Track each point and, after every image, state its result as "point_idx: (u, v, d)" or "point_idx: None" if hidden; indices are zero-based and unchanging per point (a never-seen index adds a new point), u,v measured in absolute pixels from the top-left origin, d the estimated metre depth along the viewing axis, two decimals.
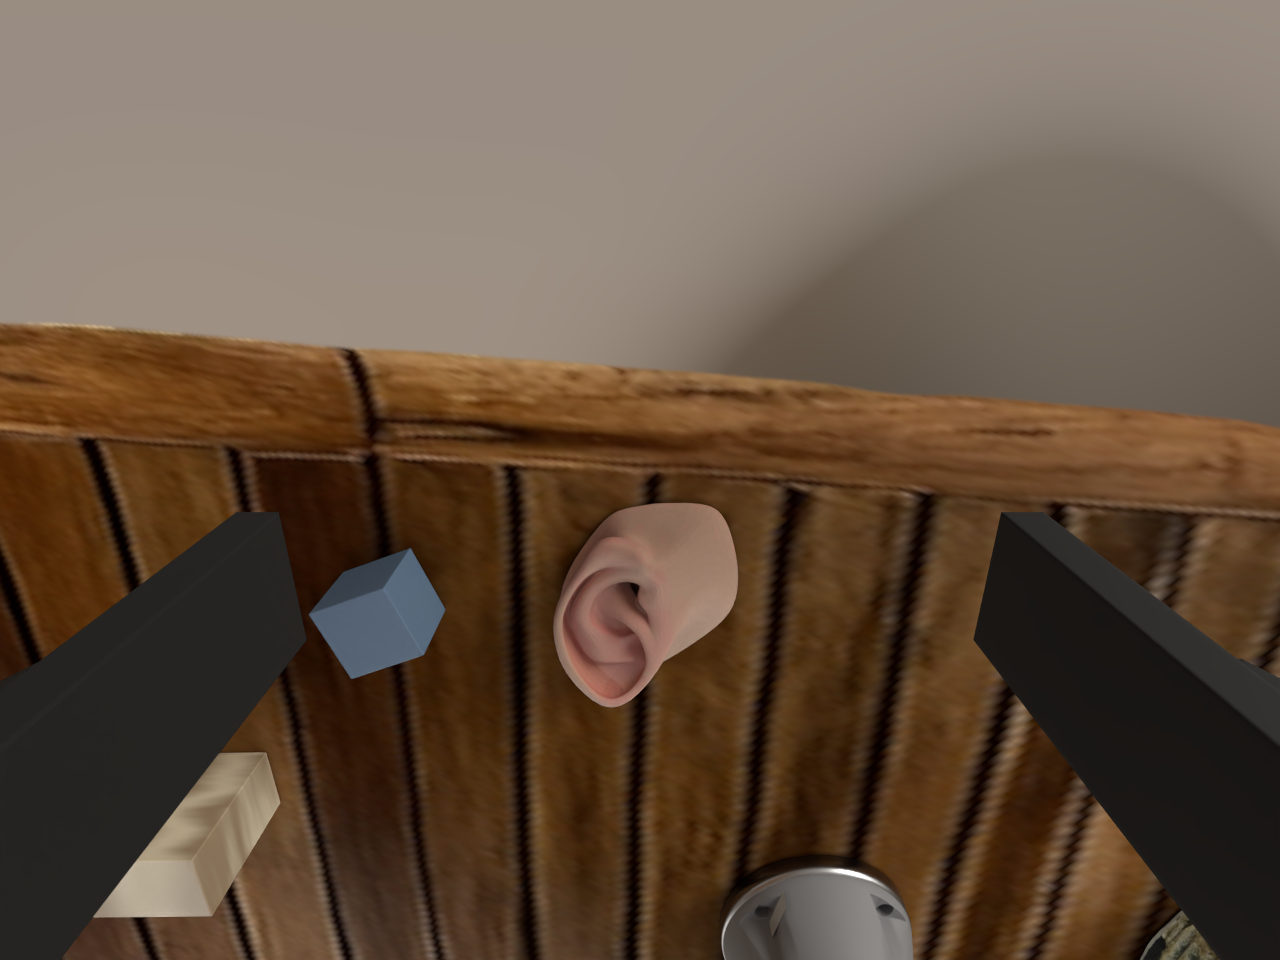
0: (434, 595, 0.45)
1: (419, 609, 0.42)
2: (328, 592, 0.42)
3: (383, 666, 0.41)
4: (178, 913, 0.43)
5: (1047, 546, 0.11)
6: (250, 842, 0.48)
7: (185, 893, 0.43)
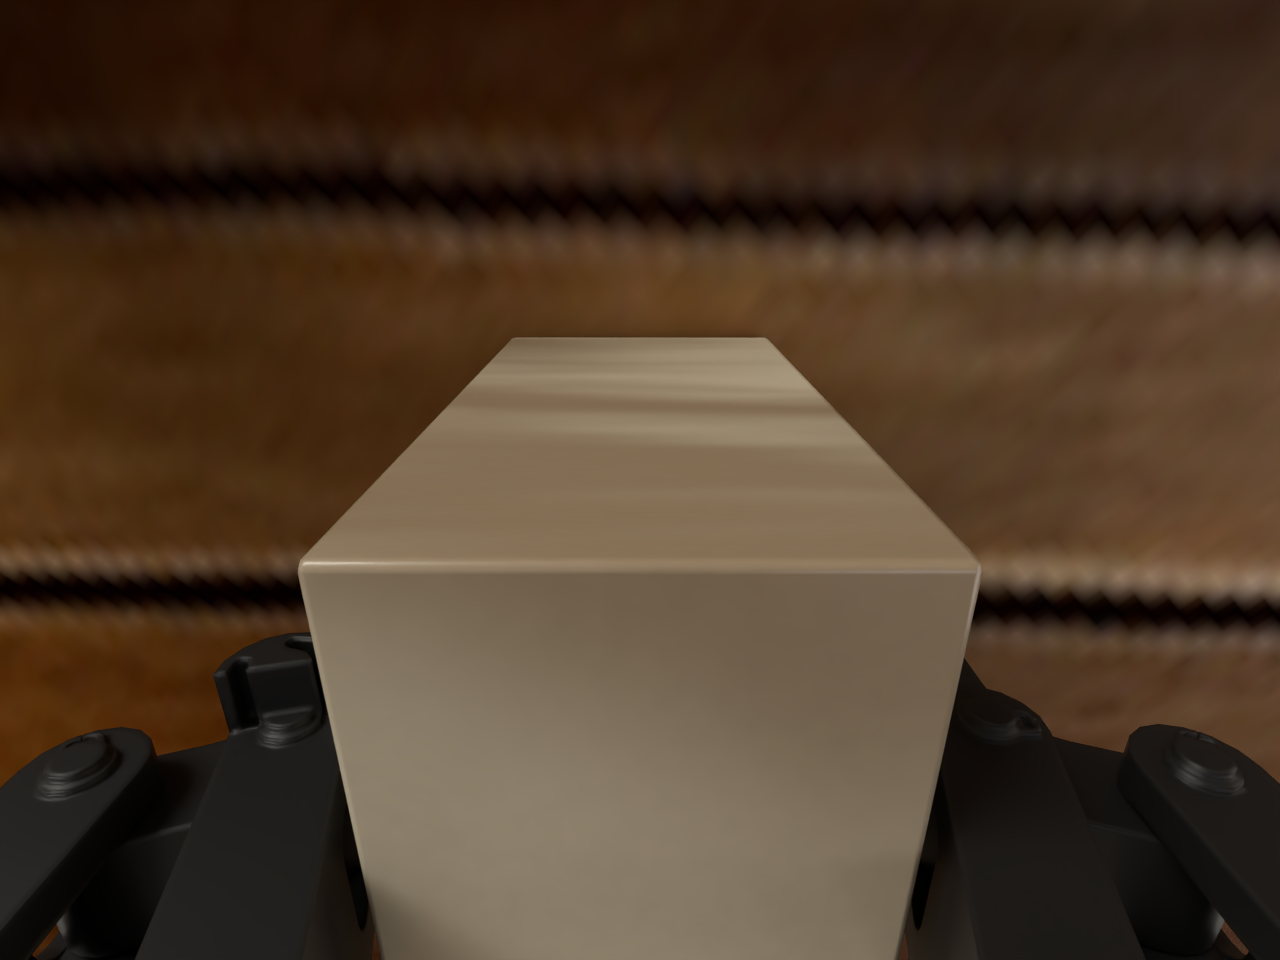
0: None
1: None
2: None
3: None
4: (898, 784, 0.06)
5: None
6: (769, 389, 0.09)
7: (688, 693, 0.05)
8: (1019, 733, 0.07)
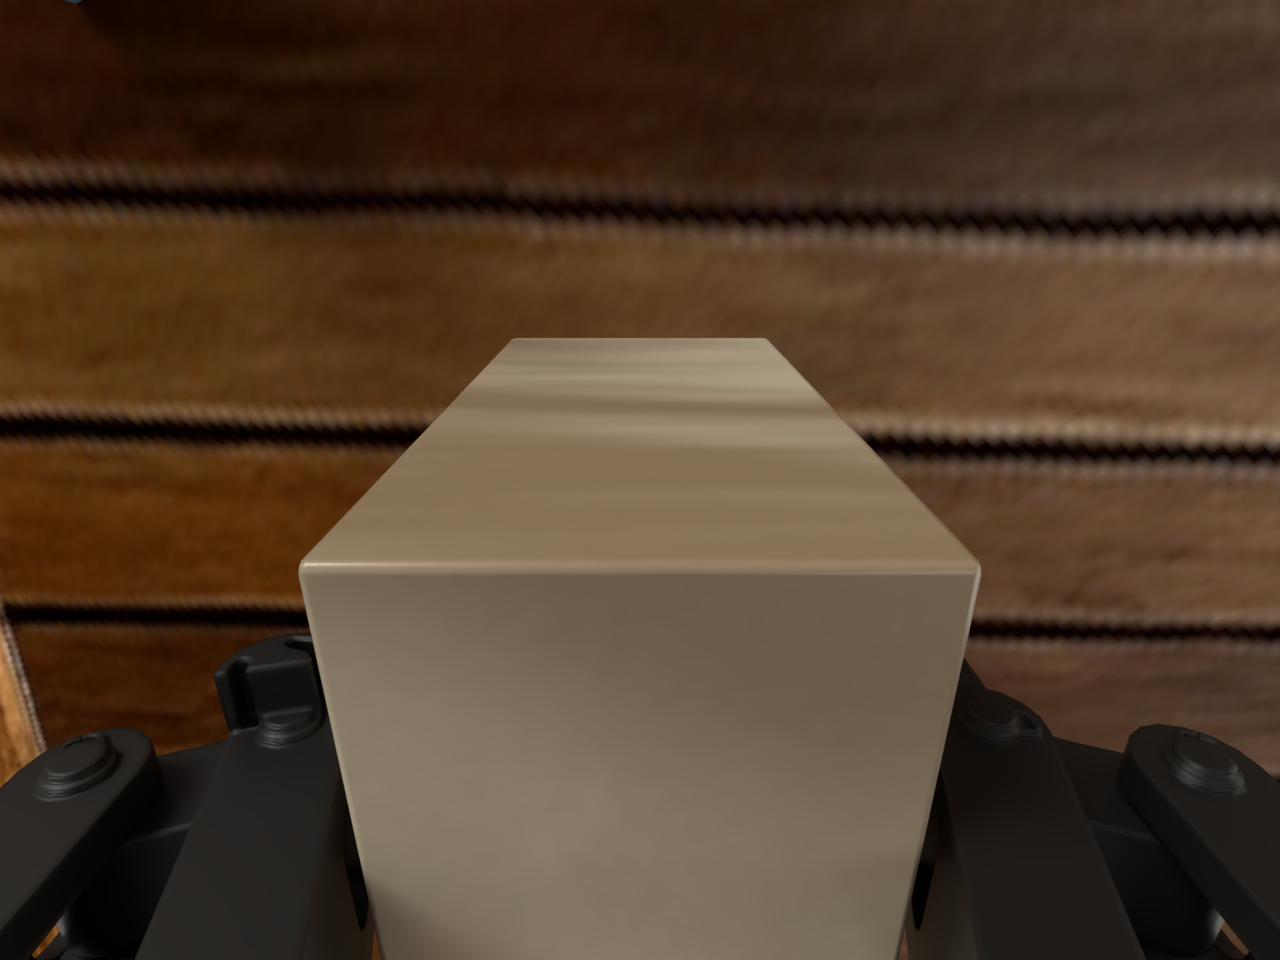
0: None
1: None
2: None
3: None
4: (898, 785, 0.06)
5: None
6: (769, 390, 0.09)
7: (688, 694, 0.05)
8: (1020, 733, 0.07)
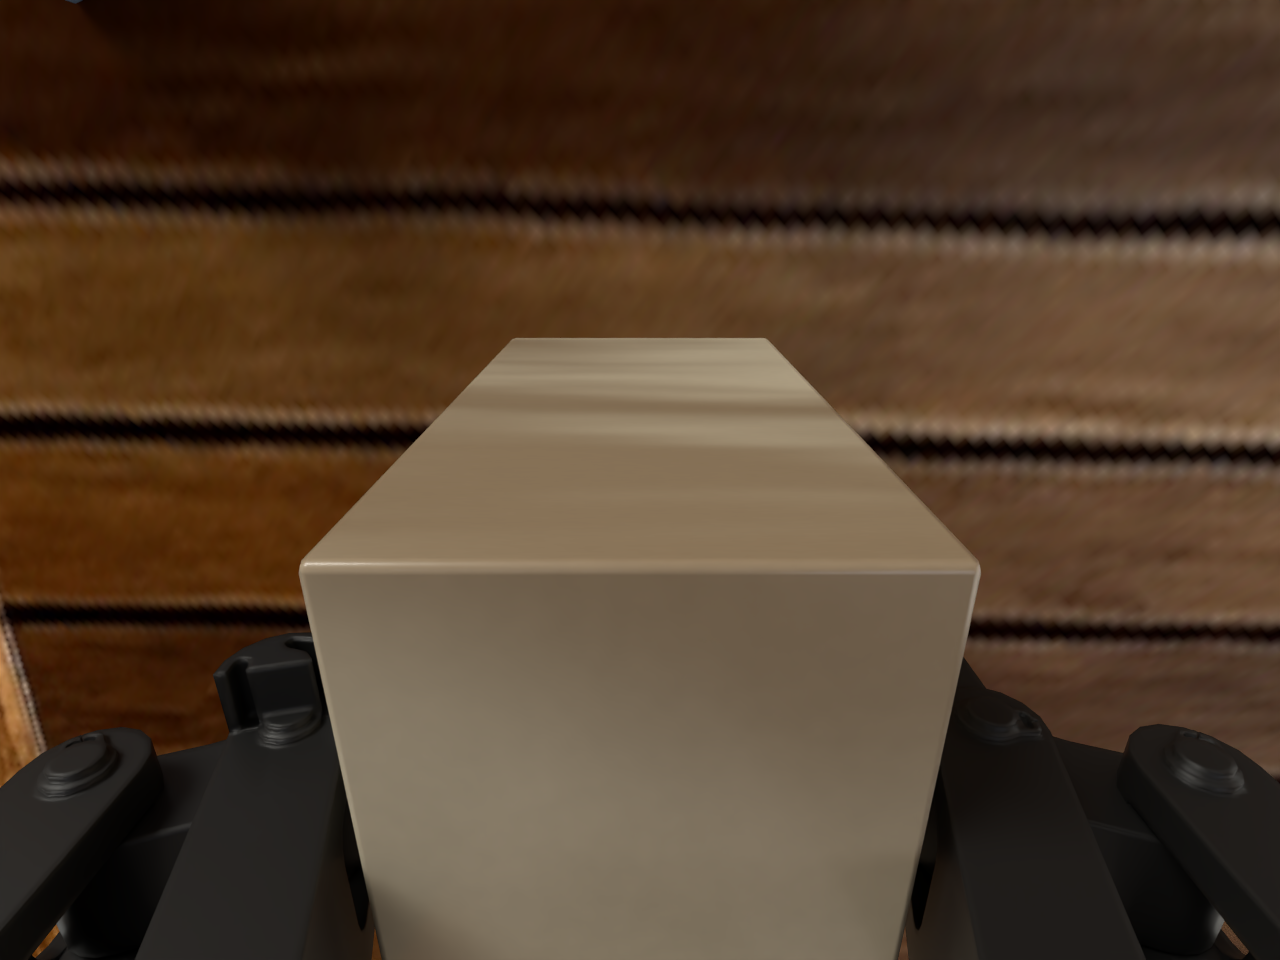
0: None
1: None
2: None
3: None
4: (898, 785, 0.06)
5: None
6: (769, 390, 0.09)
7: (687, 694, 0.05)
8: (1019, 733, 0.07)
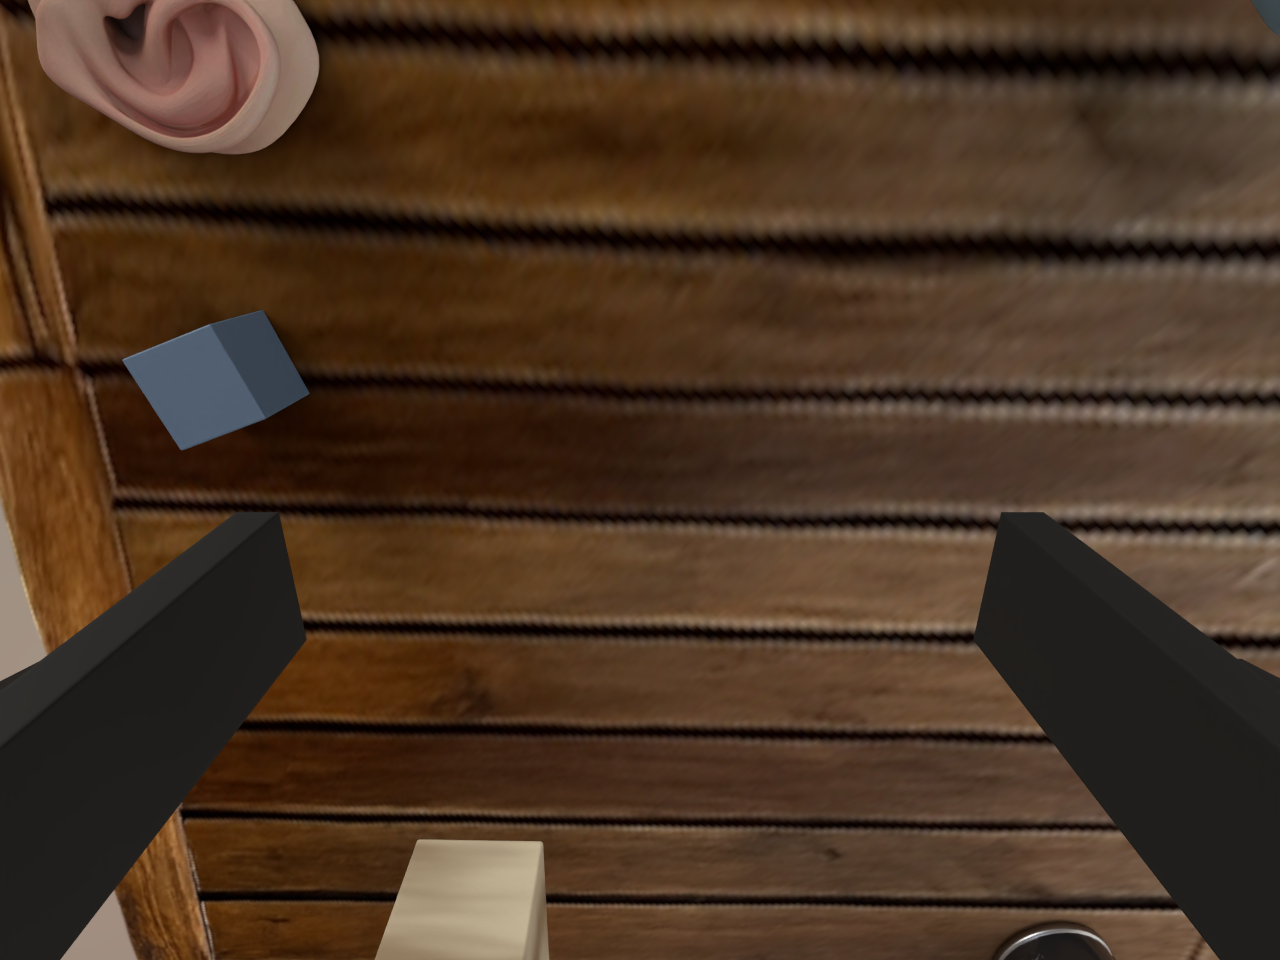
0: None
1: None
2: None
3: (237, 377, 0.33)
4: None
5: (1047, 546, 0.11)
6: (505, 944, 0.23)
7: None
8: None
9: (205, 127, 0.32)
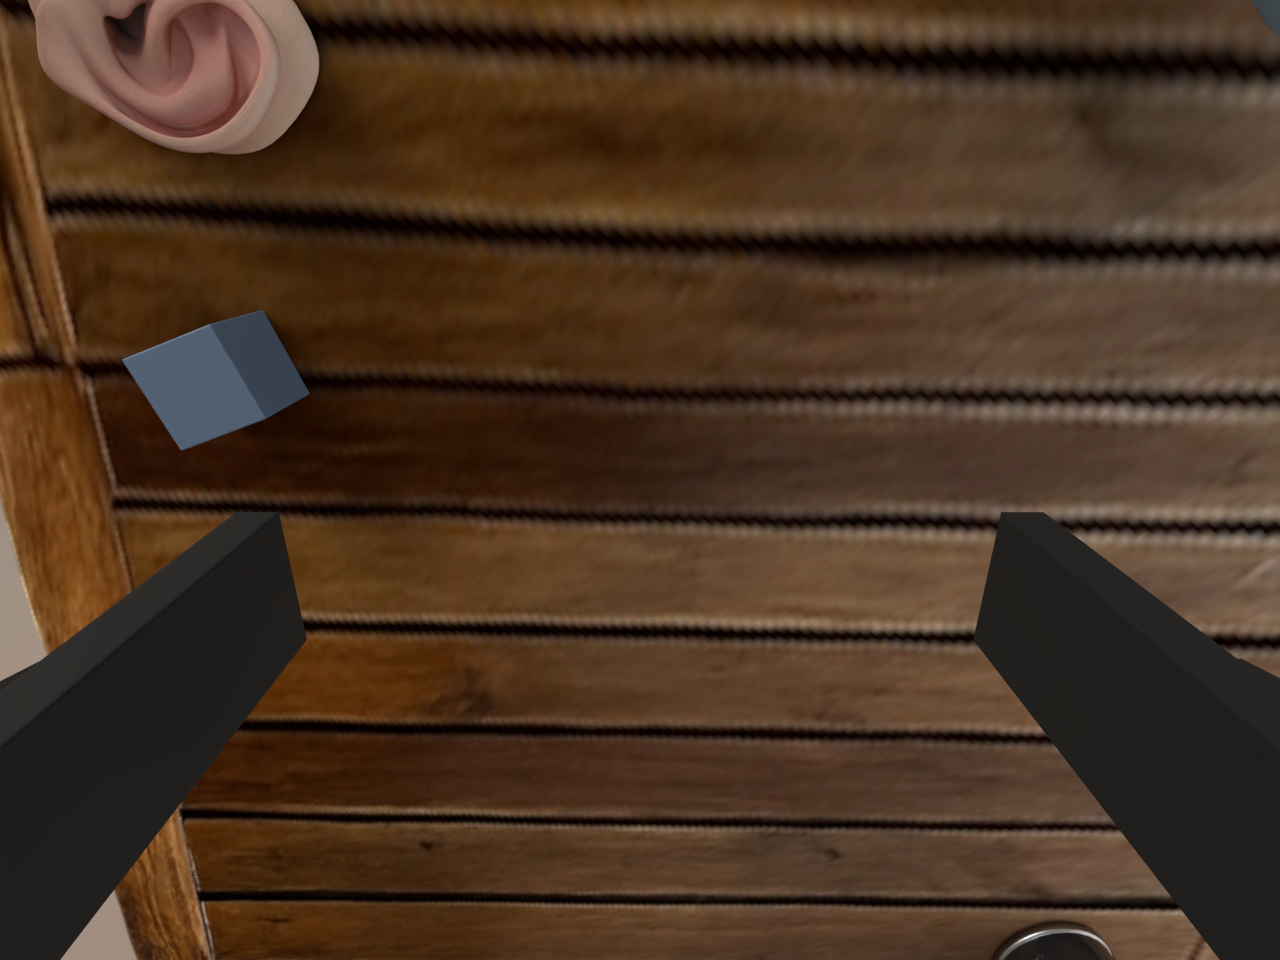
0: None
1: None
2: None
3: (237, 377, 0.33)
4: None
5: (1047, 546, 0.11)
6: None
7: None
8: None
9: (205, 127, 0.32)
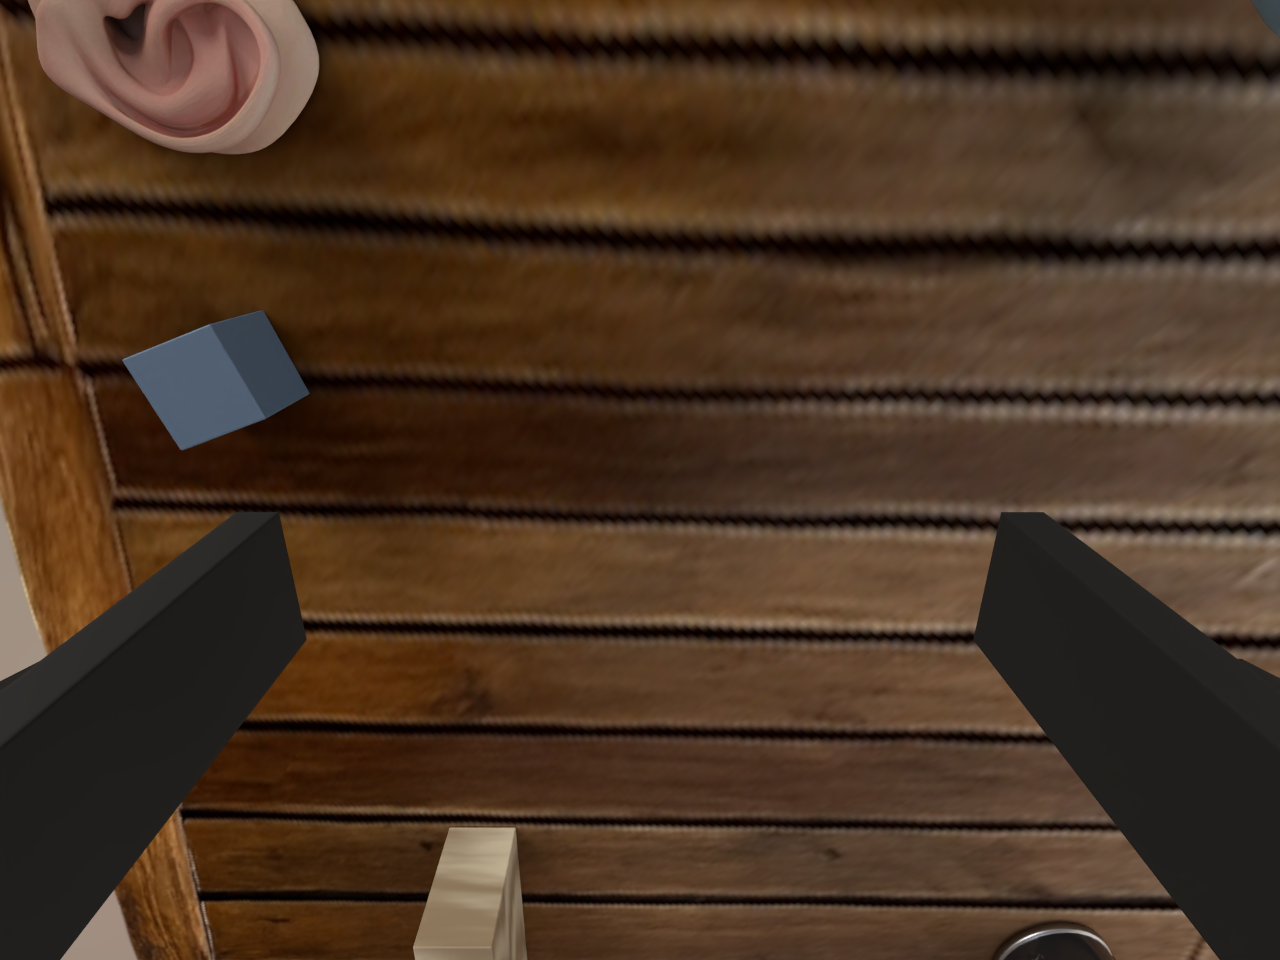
0: None
1: None
2: None
3: (237, 377, 0.33)
4: None
5: (1047, 546, 0.11)
6: (495, 876, 0.47)
7: (459, 959, 0.43)
8: None
9: (205, 127, 0.32)
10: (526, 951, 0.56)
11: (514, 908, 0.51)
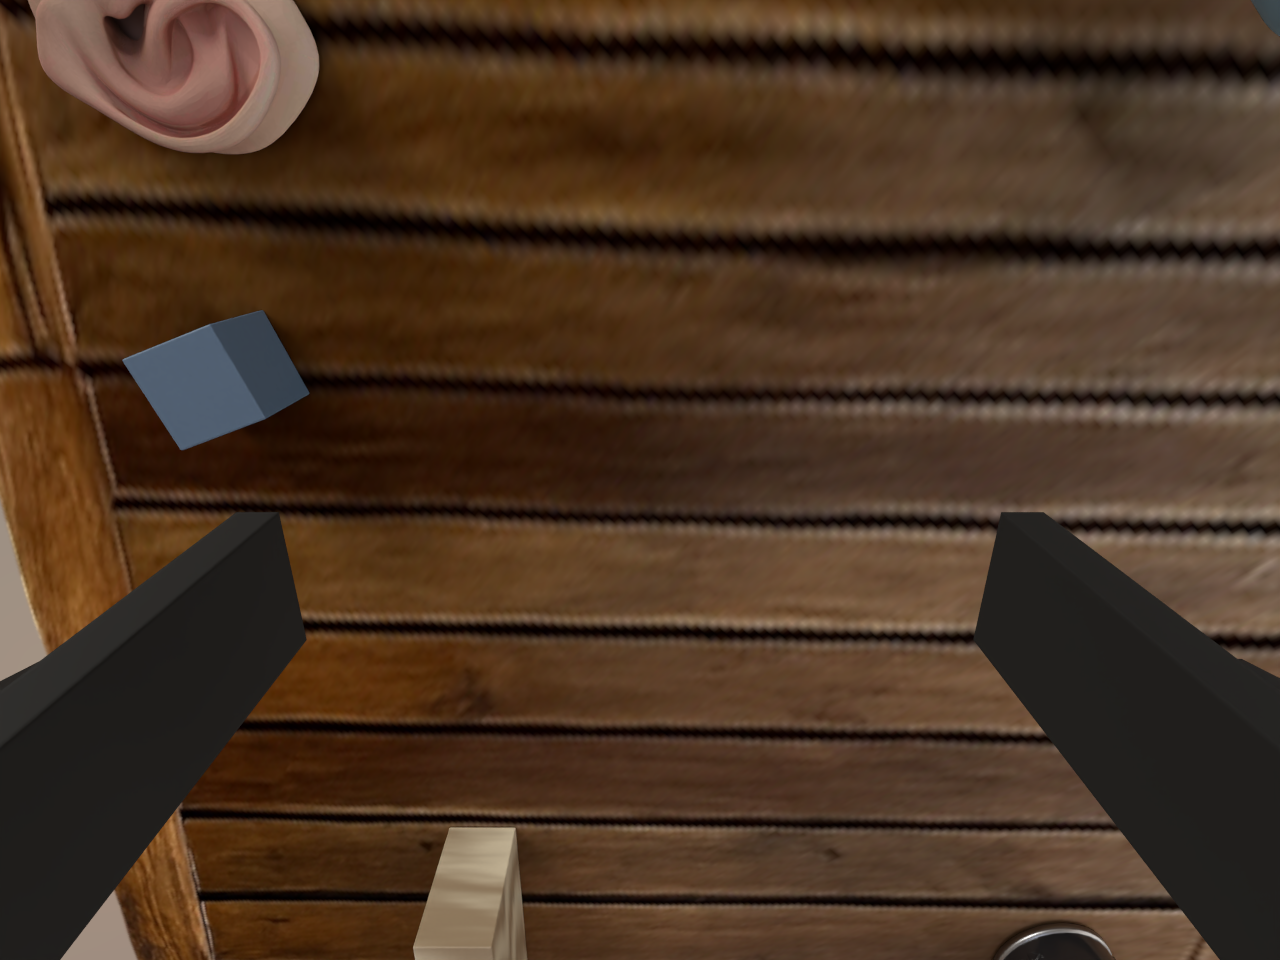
0: None
1: None
2: None
3: (237, 377, 0.33)
4: None
5: (1047, 546, 0.11)
6: (495, 876, 0.47)
7: (459, 959, 0.43)
8: None
9: (205, 127, 0.32)
10: (526, 951, 0.56)
11: (514, 908, 0.51)
